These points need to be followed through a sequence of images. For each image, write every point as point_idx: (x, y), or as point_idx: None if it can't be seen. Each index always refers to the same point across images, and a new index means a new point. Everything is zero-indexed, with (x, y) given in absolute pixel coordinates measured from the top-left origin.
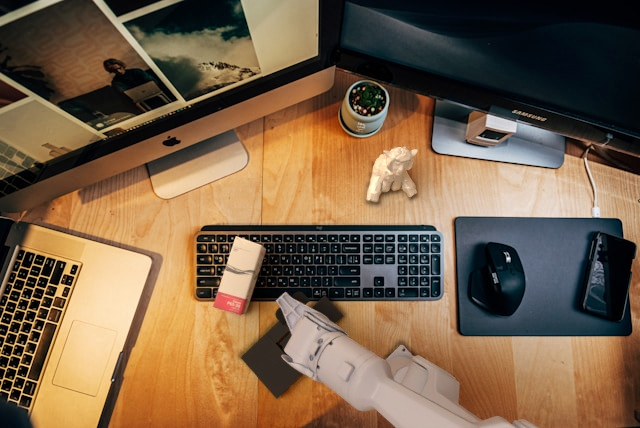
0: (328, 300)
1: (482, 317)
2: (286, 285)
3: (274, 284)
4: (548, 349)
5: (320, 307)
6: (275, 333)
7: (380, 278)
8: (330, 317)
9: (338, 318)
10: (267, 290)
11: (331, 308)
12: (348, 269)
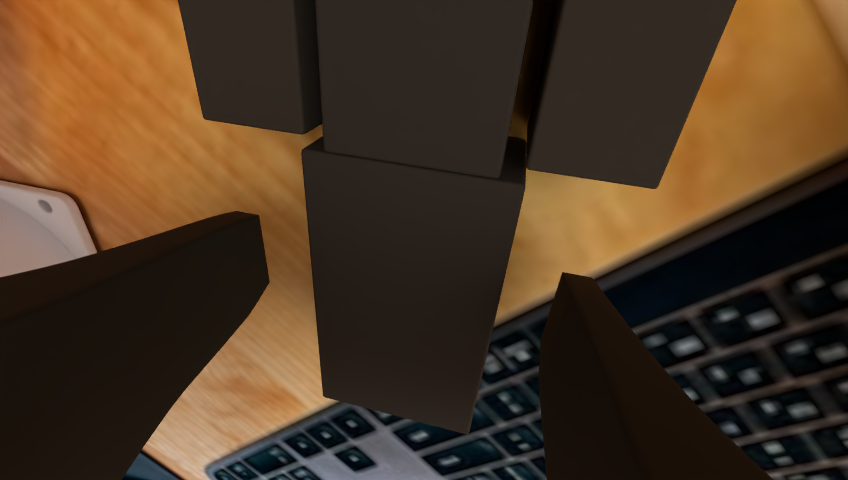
0: (437, 423)
1: None
2: (705, 313)
3: (796, 284)
4: None
5: (446, 385)
6: (637, 50)
7: (358, 466)
8: (362, 367)
9: (329, 380)
10: (838, 231)
11: (394, 400)
12: (467, 458)
